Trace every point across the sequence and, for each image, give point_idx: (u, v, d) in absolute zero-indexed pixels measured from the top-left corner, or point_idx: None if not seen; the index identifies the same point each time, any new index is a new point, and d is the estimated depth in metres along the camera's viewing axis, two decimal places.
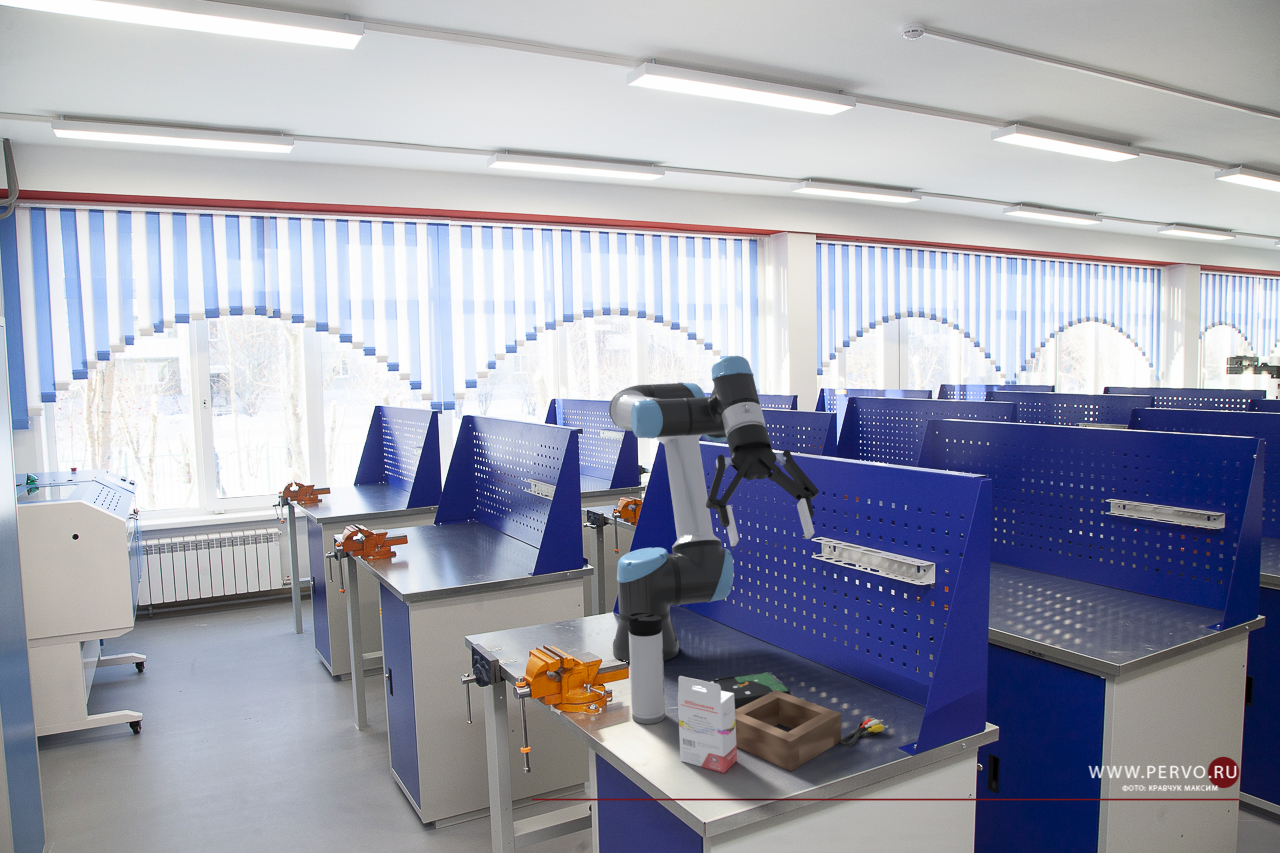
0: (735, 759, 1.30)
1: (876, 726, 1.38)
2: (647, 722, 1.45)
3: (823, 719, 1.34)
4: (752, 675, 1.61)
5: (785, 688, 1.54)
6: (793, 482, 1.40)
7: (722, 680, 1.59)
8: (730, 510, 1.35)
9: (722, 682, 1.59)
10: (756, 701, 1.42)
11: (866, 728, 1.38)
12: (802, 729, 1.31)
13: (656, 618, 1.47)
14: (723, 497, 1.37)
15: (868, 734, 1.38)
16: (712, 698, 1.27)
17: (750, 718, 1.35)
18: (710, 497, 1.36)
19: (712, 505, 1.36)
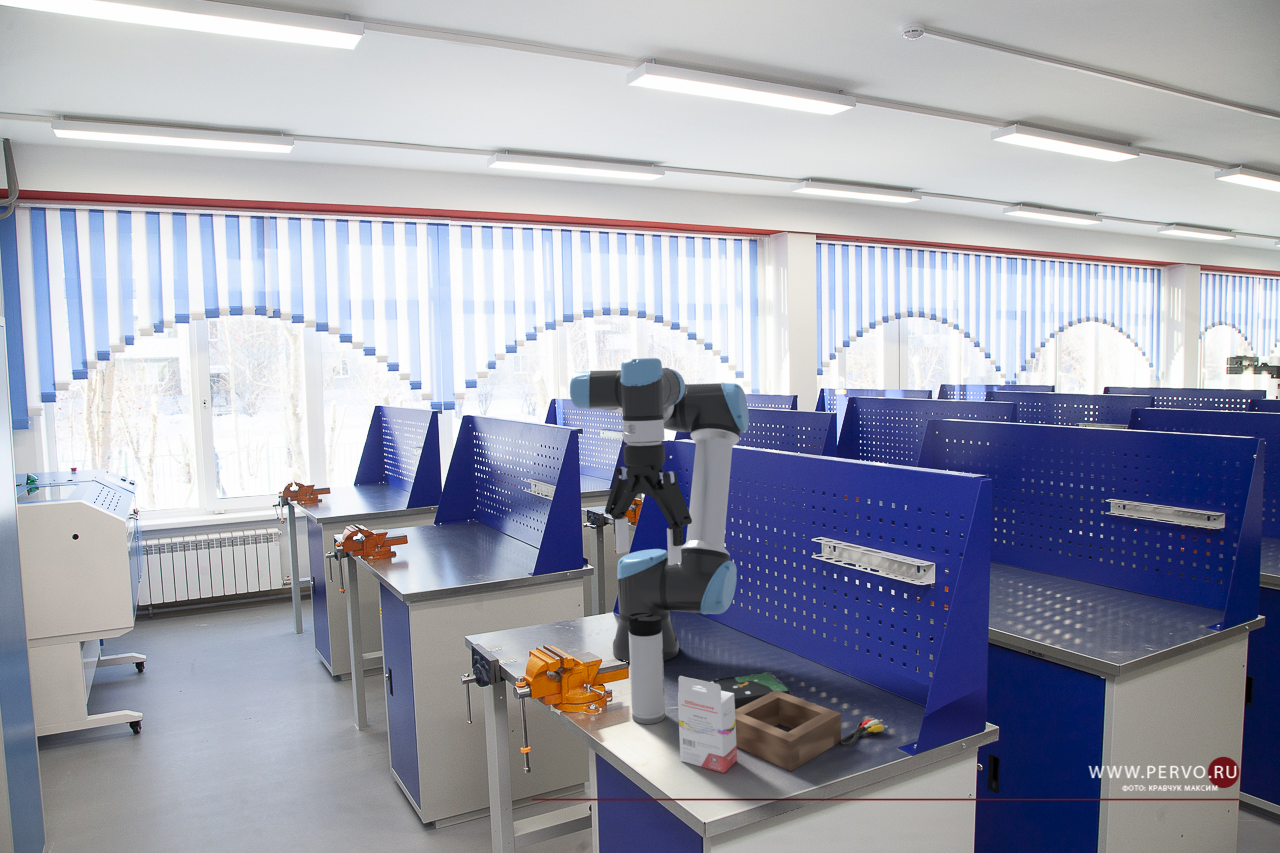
0: (735, 759, 1.30)
1: (876, 726, 1.38)
2: (647, 722, 1.45)
3: (823, 719, 1.34)
4: (752, 675, 1.61)
5: (785, 688, 1.54)
6: (664, 509, 1.40)
7: (722, 680, 1.59)
8: (616, 525, 1.49)
9: (722, 682, 1.59)
10: (756, 701, 1.42)
11: (866, 728, 1.38)
12: (802, 729, 1.31)
13: (656, 618, 1.46)
14: (614, 511, 1.49)
15: (868, 734, 1.38)
16: (712, 698, 1.27)
17: (750, 718, 1.35)
18: (606, 508, 1.51)
19: None
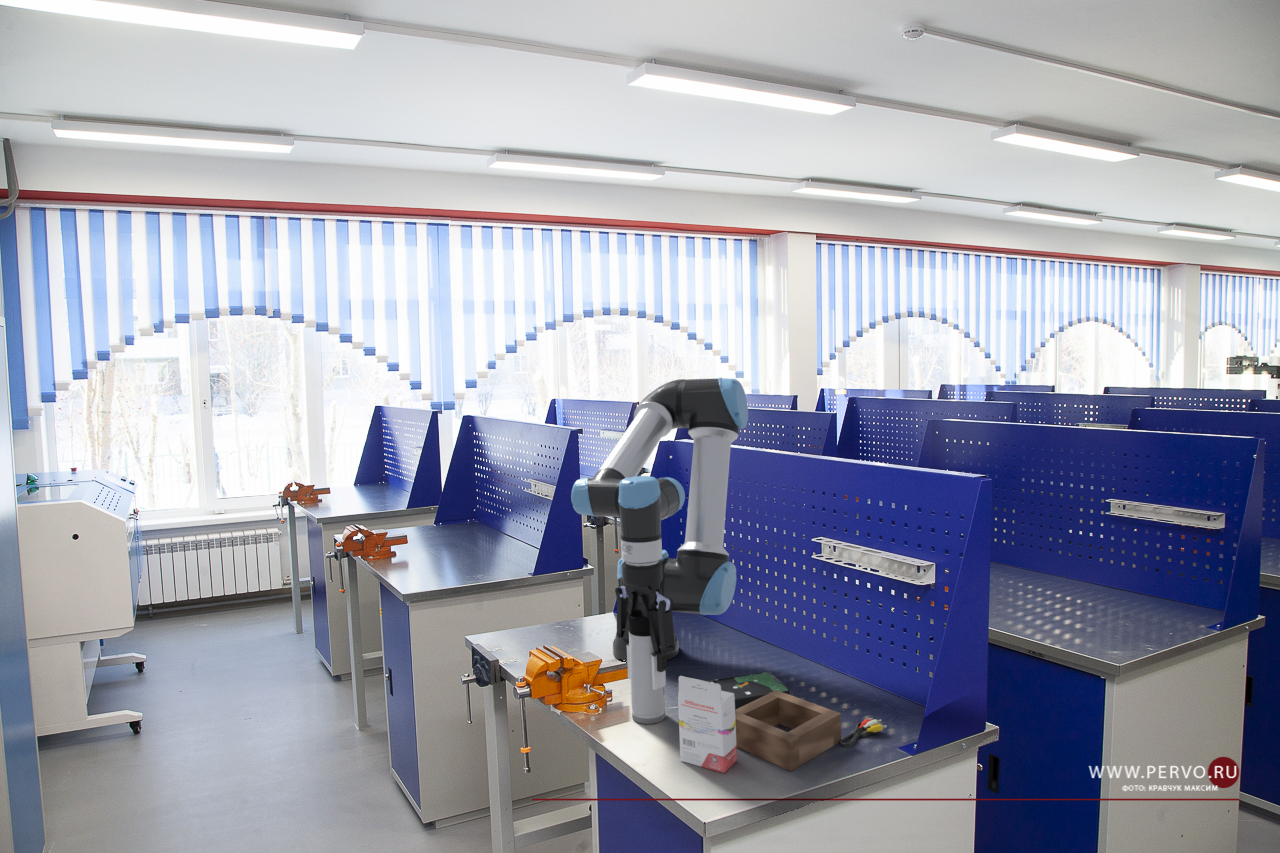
0: (735, 759, 1.30)
1: (875, 726, 1.38)
2: (647, 722, 1.45)
3: (823, 719, 1.34)
4: (751, 675, 1.61)
5: (785, 688, 1.54)
6: (653, 634, 1.43)
7: (721, 680, 1.59)
8: (628, 650, 1.49)
9: (722, 683, 1.58)
10: (756, 701, 1.42)
11: (865, 728, 1.38)
12: (802, 729, 1.31)
13: None
14: (624, 635, 1.49)
15: (867, 734, 1.38)
16: (712, 698, 1.27)
17: (750, 718, 1.35)
18: (617, 633, 1.51)
19: None
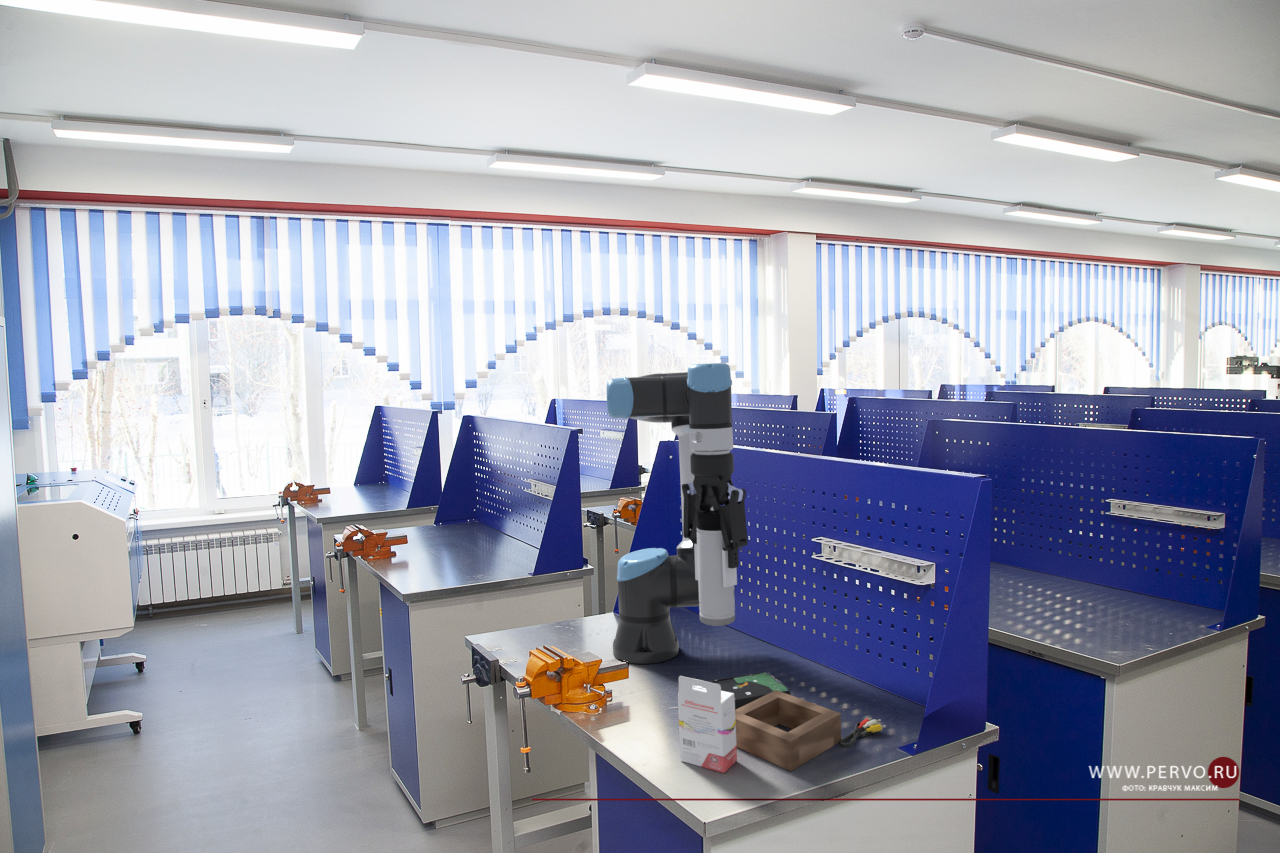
0: (735, 759, 1.30)
1: (874, 726, 1.38)
2: (716, 623, 1.36)
3: (823, 719, 1.34)
4: (751, 675, 1.61)
5: (785, 688, 1.54)
6: (724, 528, 1.35)
7: (721, 681, 1.59)
8: (696, 549, 1.40)
9: (721, 683, 1.58)
10: (756, 701, 1.42)
11: (864, 728, 1.38)
12: (802, 729, 1.31)
13: None
14: (692, 534, 1.41)
15: (866, 734, 1.38)
16: (712, 698, 1.27)
17: (750, 718, 1.35)
18: (684, 532, 1.43)
19: None
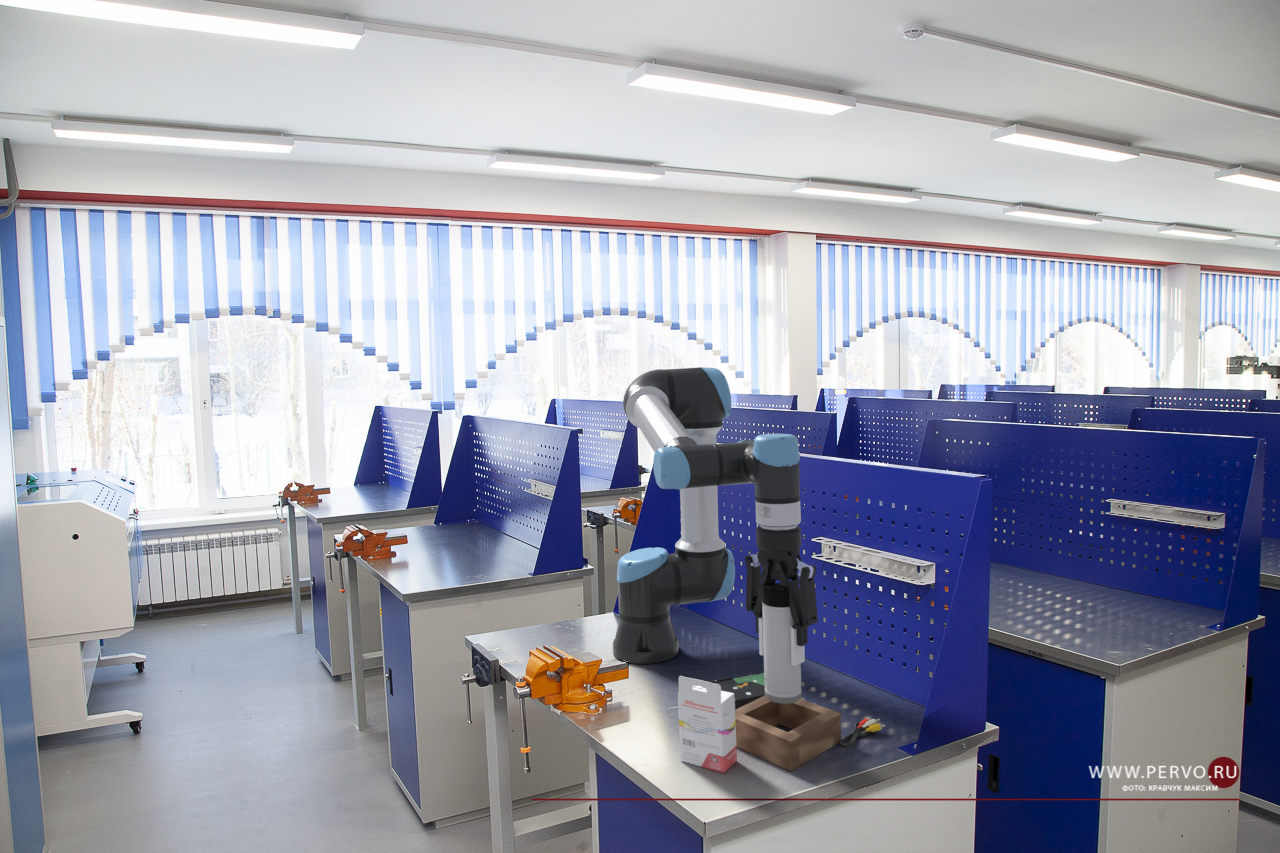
0: (735, 759, 1.30)
1: (873, 726, 1.38)
2: (784, 701, 1.33)
3: (823, 719, 1.34)
4: (750, 676, 1.61)
5: None
6: (793, 605, 1.31)
7: (721, 681, 1.59)
8: (760, 624, 1.37)
9: (721, 683, 1.58)
10: (756, 701, 1.42)
11: (864, 728, 1.38)
12: (802, 729, 1.31)
13: None
14: (756, 607, 1.37)
15: (866, 734, 1.38)
16: (712, 698, 1.27)
17: (750, 718, 1.35)
18: (746, 605, 1.39)
19: None
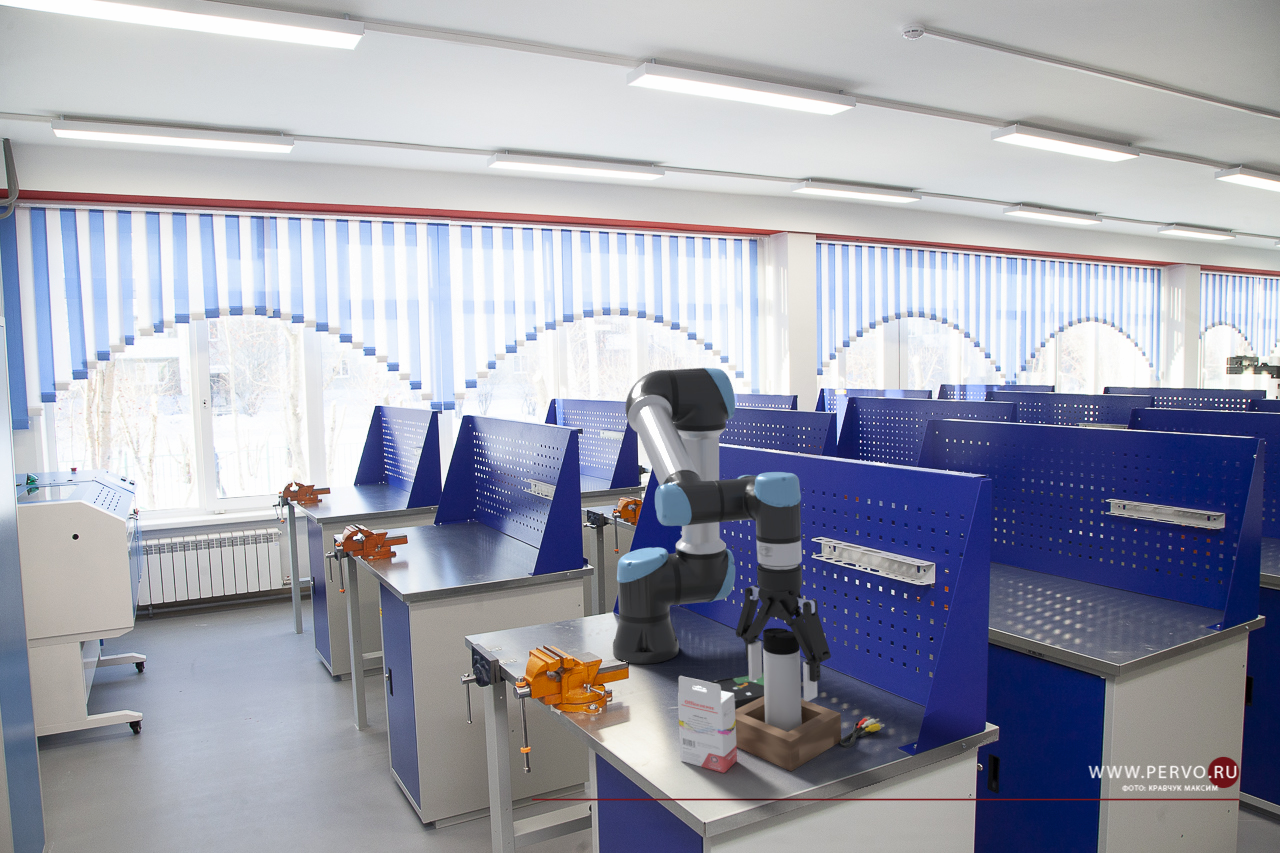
0: (735, 759, 1.30)
1: (873, 725, 1.38)
2: None
3: (823, 719, 1.34)
4: None
5: None
6: (802, 641, 1.30)
7: (720, 682, 1.59)
8: (750, 650, 1.39)
9: (721, 684, 1.58)
10: (756, 701, 1.42)
11: (863, 728, 1.38)
12: (802, 729, 1.31)
13: (793, 634, 1.35)
14: (746, 635, 1.40)
15: (865, 734, 1.38)
16: (712, 698, 1.27)
17: (750, 718, 1.35)
18: (737, 631, 1.41)
19: None
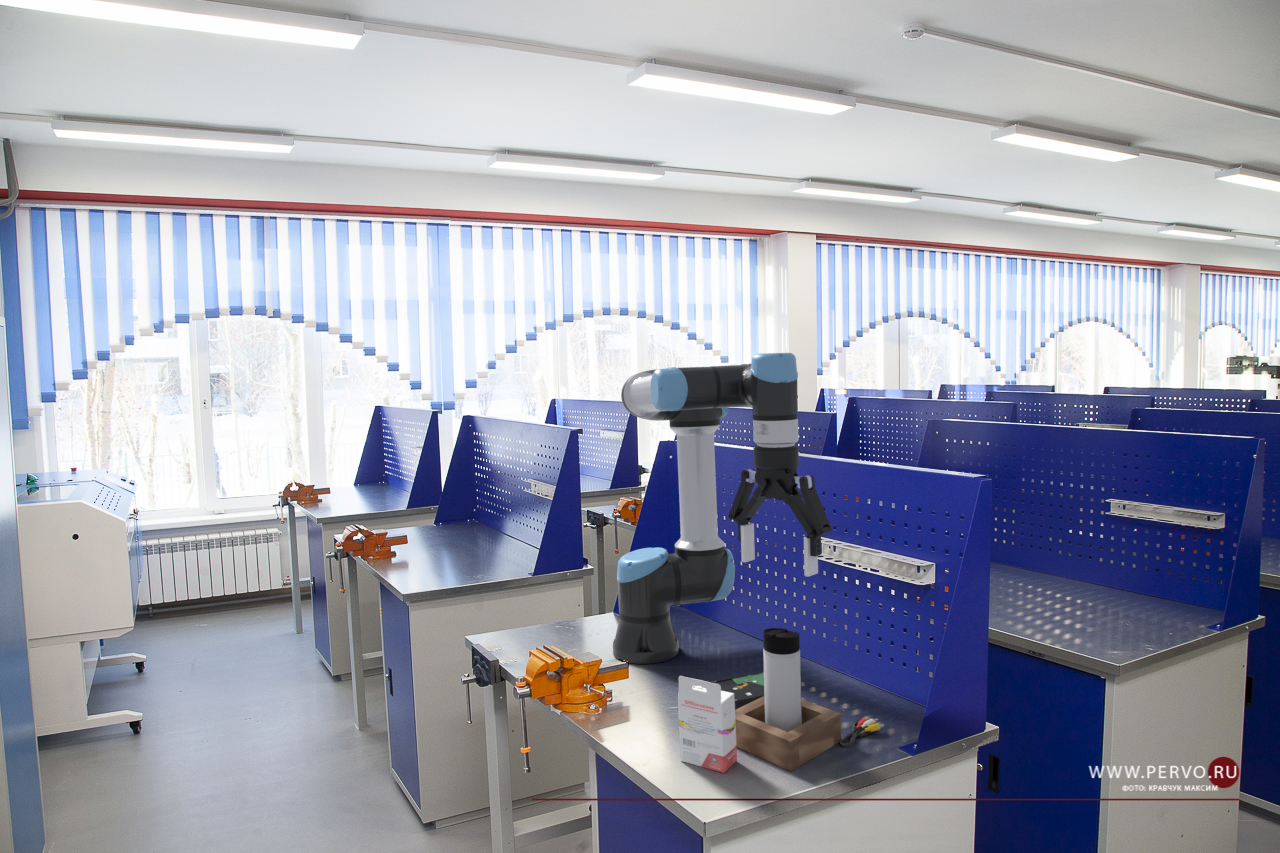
0: (735, 759, 1.30)
1: (872, 725, 1.38)
2: None
3: (823, 719, 1.34)
4: (749, 676, 1.60)
5: None
6: (801, 516, 1.29)
7: (720, 682, 1.58)
8: (742, 531, 1.39)
9: (721, 684, 1.58)
10: (756, 701, 1.42)
11: (862, 728, 1.38)
12: (802, 729, 1.31)
13: (793, 634, 1.35)
14: (740, 516, 1.39)
15: (865, 734, 1.38)
16: (712, 698, 1.27)
17: (750, 718, 1.35)
18: (730, 513, 1.41)
19: None
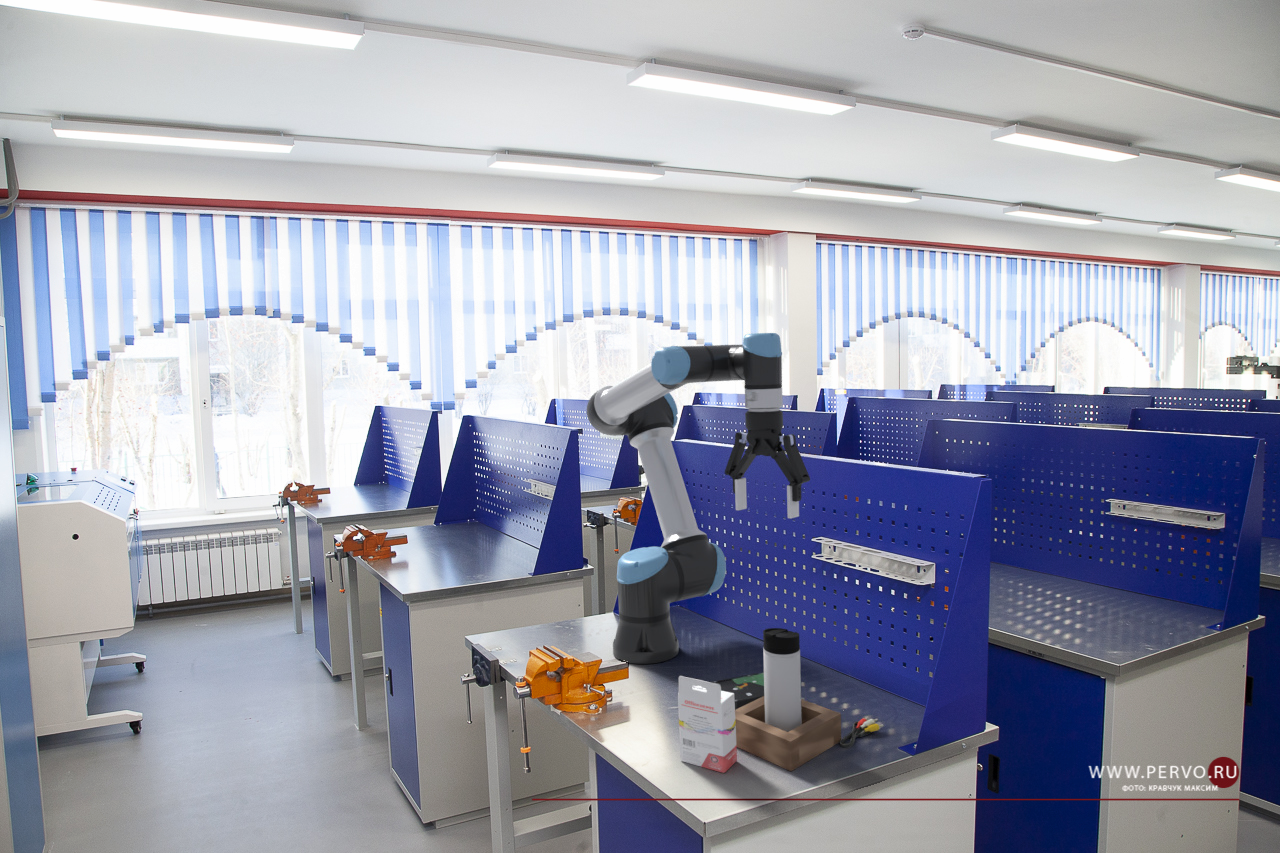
0: (735, 759, 1.30)
1: (872, 725, 1.38)
2: None
3: (823, 719, 1.34)
4: (749, 676, 1.60)
5: None
6: (784, 468, 1.55)
7: (720, 682, 1.58)
8: (736, 484, 1.65)
9: (720, 684, 1.57)
10: (756, 701, 1.42)
11: (862, 728, 1.38)
12: (802, 729, 1.31)
13: (793, 634, 1.35)
14: (734, 471, 1.65)
15: (864, 734, 1.38)
16: (712, 698, 1.27)
17: (750, 718, 1.35)
18: (725, 470, 1.67)
19: None
